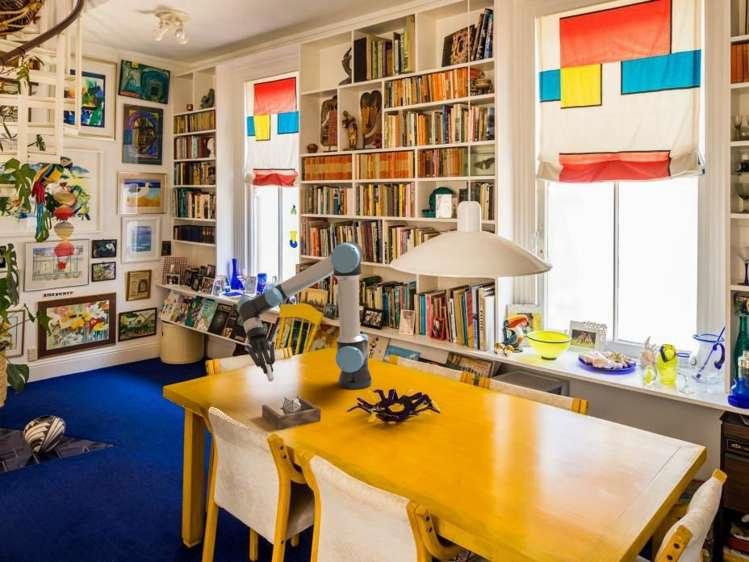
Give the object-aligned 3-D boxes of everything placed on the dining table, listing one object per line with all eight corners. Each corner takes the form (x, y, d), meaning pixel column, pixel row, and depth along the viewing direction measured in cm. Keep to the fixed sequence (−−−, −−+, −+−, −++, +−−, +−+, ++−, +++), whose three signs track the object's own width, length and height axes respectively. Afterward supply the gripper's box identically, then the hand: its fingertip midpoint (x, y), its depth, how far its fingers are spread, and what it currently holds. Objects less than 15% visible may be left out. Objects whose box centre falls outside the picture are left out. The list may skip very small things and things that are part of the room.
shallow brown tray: (302, 408, 236) (302, 397, 235) (320, 420, 223) (320, 409, 223) (262, 416, 227) (262, 405, 226) (278, 429, 214) (278, 417, 213)
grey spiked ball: (294, 428, 225) (296, 414, 218) (275, 418, 227) (276, 403, 220) (306, 411, 231) (308, 396, 224) (287, 401, 233) (288, 386, 226)
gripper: (266, 333, 257) (283, 381, 246) (237, 337, 250) (253, 387, 239) (271, 324, 252) (289, 372, 241) (242, 327, 244) (258, 378, 233)
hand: (271, 379), depth 240 cm, fingers closed
